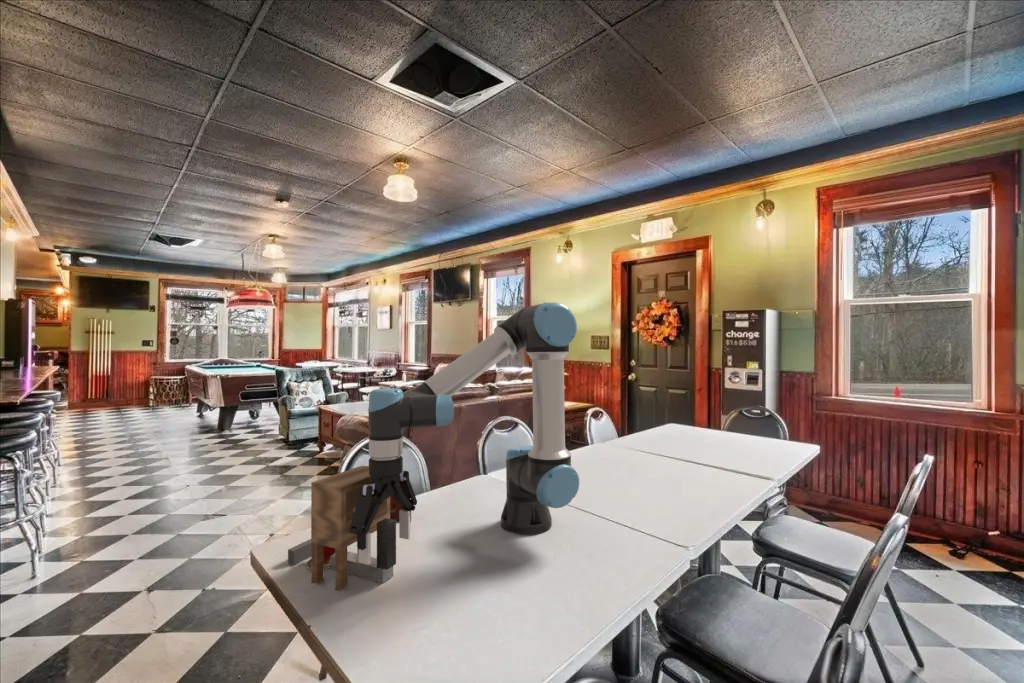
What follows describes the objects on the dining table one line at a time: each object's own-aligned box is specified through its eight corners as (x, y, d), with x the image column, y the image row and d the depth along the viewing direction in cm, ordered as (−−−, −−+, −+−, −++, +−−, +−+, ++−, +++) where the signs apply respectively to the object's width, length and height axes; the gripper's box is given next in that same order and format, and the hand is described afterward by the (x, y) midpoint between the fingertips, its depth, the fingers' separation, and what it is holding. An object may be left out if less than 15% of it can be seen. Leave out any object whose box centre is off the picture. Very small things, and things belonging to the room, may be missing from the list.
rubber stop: (320, 551, 116) (320, 538, 116) (293, 565, 109) (293, 551, 109) (314, 550, 117) (314, 537, 117) (288, 563, 109) (288, 549, 109)
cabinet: (394, 560, 111) (393, 469, 111) (345, 592, 96) (345, 488, 97) (362, 552, 115) (362, 465, 115) (311, 582, 101) (311, 482, 101)
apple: (320, 574, 104) (320, 546, 104) (298, 566, 108) (298, 539, 108) (348, 560, 111) (348, 534, 111) (326, 553, 115) (327, 527, 115)
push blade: (396, 576, 103) (396, 519, 103) (386, 583, 99) (386, 525, 100) (341, 562, 110) (341, 509, 110) (330, 568, 107) (330, 513, 107)
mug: (391, 512, 144) (391, 480, 144) (416, 514, 142) (416, 481, 142) (372, 527, 132) (372, 492, 132) (400, 529, 130) (400, 493, 130)
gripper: (406, 444, 115) (407, 527, 115) (330, 468, 92) (330, 571, 92) (431, 446, 112) (431, 531, 112) (358, 472, 89) (358, 578, 89)
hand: (386, 549), depth 102 cm, fingers open, 13 cm apart
